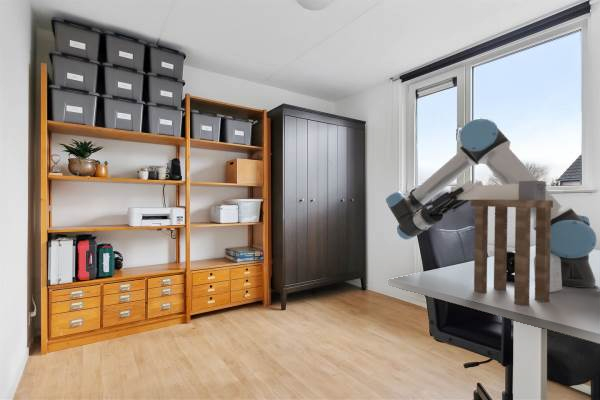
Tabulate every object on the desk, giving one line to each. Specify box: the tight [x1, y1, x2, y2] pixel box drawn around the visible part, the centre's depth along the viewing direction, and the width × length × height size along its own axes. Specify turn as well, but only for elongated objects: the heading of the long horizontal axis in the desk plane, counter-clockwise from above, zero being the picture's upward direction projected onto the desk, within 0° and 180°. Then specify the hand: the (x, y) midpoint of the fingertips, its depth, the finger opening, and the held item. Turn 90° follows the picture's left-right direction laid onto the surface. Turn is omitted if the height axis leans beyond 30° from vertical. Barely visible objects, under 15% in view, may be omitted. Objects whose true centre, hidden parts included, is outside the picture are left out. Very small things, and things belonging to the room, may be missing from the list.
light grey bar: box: [450, 180, 547, 200], centre depth 96 cm, size 5×27×5 cm, turn 23°
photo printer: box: [533, 251, 563, 293], centre depth 98 cm, size 10×4×12 cm, turn 120°
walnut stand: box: [470, 200, 553, 307], centre depth 91 cm, size 12×16×28 cm
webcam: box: [506, 250, 515, 283], centre depth 110 cm, size 8×8×10 cm
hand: (477, 184), depth 101 cm, fingers closed on light grey bar, 4 cm apart
